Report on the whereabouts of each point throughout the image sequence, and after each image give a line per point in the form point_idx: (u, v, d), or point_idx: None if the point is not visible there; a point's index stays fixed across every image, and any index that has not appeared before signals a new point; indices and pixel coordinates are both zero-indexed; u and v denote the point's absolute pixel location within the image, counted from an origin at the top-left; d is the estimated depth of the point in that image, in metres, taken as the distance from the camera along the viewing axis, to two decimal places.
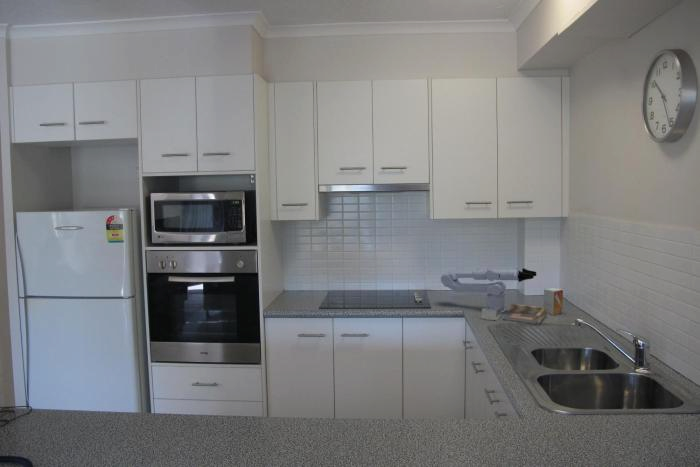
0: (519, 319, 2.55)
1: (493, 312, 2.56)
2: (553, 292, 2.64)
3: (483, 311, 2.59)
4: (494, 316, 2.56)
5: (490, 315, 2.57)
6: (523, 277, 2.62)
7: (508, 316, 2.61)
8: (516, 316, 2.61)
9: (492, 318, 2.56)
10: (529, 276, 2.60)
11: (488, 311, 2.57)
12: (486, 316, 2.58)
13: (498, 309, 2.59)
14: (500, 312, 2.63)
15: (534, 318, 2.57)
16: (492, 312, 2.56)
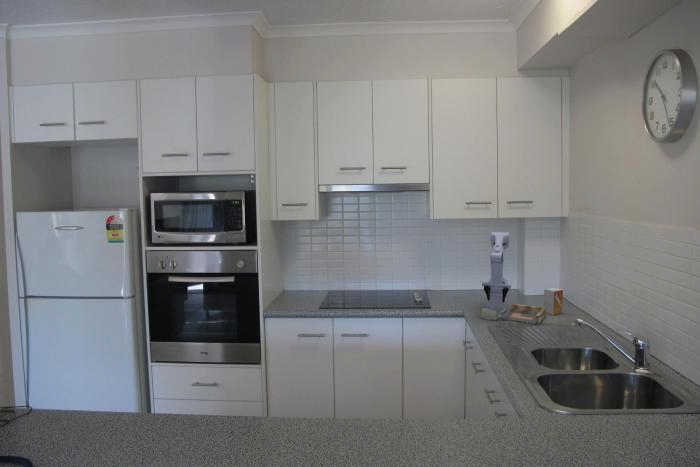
0: (519, 319, 2.55)
1: (493, 312, 2.56)
2: (553, 292, 2.64)
3: (483, 311, 2.59)
4: (494, 316, 2.56)
5: (490, 315, 2.57)
6: None
7: (508, 316, 2.61)
8: (516, 316, 2.61)
9: (492, 318, 2.56)
10: None
11: (488, 311, 2.57)
12: (486, 316, 2.58)
13: (498, 309, 2.59)
14: (500, 312, 2.63)
15: (534, 318, 2.57)
16: (492, 312, 2.56)
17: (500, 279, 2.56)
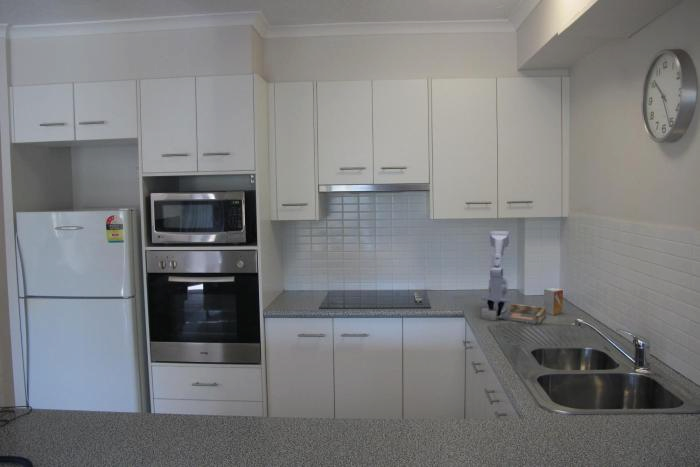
0: (519, 319, 2.55)
1: (493, 312, 2.56)
2: (553, 292, 2.64)
3: (483, 311, 2.59)
4: (494, 316, 2.56)
5: (490, 315, 2.57)
6: None
7: (508, 316, 2.61)
8: (516, 316, 2.61)
9: (492, 318, 2.56)
10: None
11: (488, 311, 2.57)
12: (486, 316, 2.58)
13: None
14: None
15: (534, 318, 2.57)
16: (492, 312, 2.56)
17: (500, 294, 2.57)
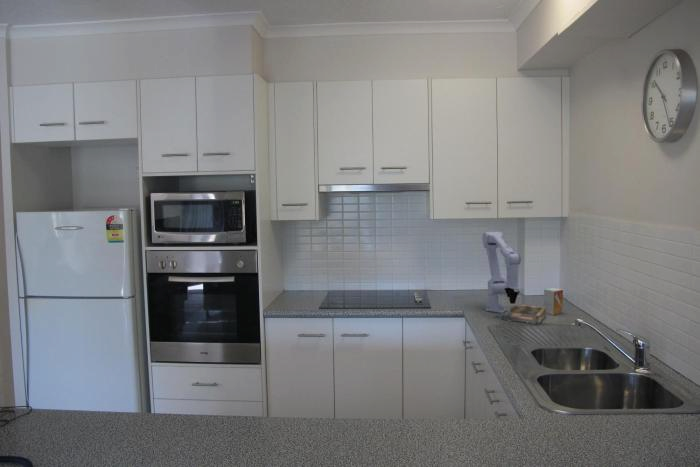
0: (519, 319, 2.55)
1: (501, 298, 2.58)
2: (553, 292, 2.64)
3: (498, 296, 2.63)
4: (502, 302, 2.58)
5: (500, 301, 2.60)
6: None
7: (508, 316, 2.61)
8: (516, 316, 2.61)
9: (501, 304, 2.59)
10: None
11: (500, 297, 2.61)
12: (499, 301, 2.62)
13: None
14: (519, 301, 2.57)
15: (534, 318, 2.57)
16: (501, 298, 2.59)
17: (510, 280, 2.55)
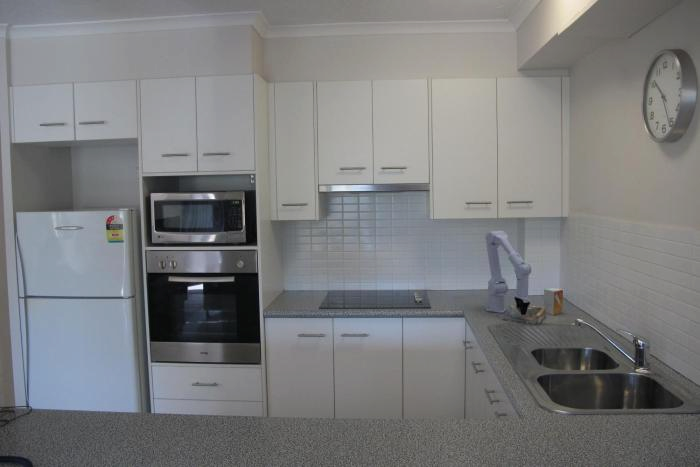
0: (519, 319, 2.55)
1: (511, 309, 2.58)
2: (553, 292, 2.64)
3: (509, 307, 2.64)
4: (512, 313, 2.58)
5: (511, 312, 2.60)
6: None
7: (508, 316, 2.61)
8: None
9: (511, 315, 2.59)
10: None
11: (510, 308, 2.61)
12: (510, 312, 2.62)
13: None
14: (529, 314, 2.57)
15: (534, 318, 2.57)
16: (511, 309, 2.59)
17: (520, 291, 2.55)
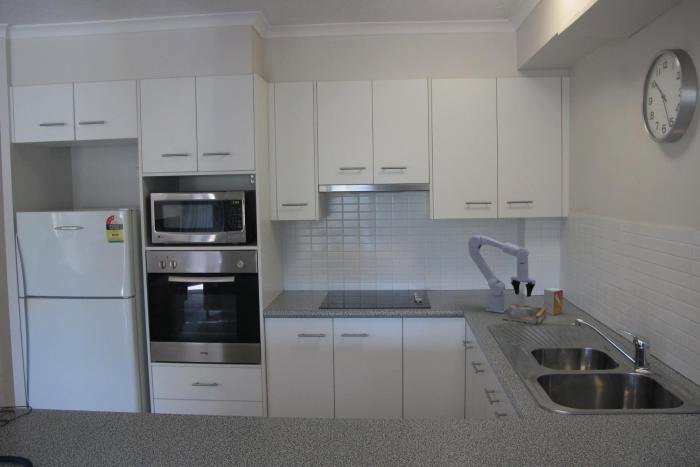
0: (519, 319, 2.55)
1: (511, 309, 2.58)
2: (553, 292, 2.64)
3: (509, 307, 2.64)
4: (512, 313, 2.58)
5: (511, 312, 2.60)
6: None
7: (508, 316, 2.61)
8: None
9: (511, 315, 2.59)
10: None
11: (510, 308, 2.61)
12: (510, 312, 2.62)
13: (521, 309, 2.57)
14: (529, 314, 2.57)
15: (534, 318, 2.57)
16: (511, 309, 2.59)
17: (524, 274, 2.64)
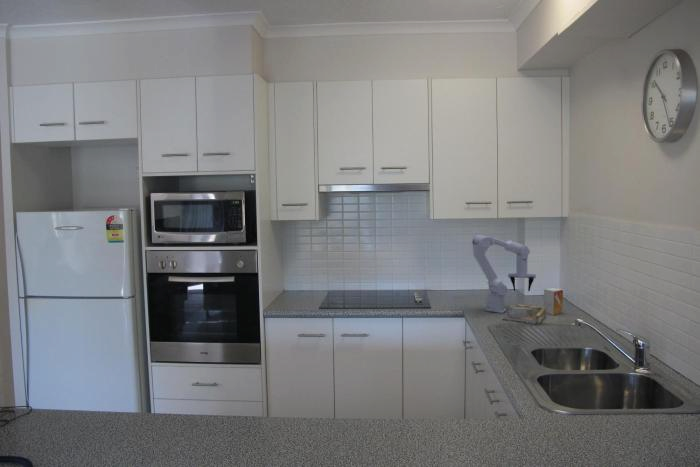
0: (519, 319, 2.55)
1: (511, 309, 2.58)
2: (553, 292, 2.64)
3: (509, 307, 2.64)
4: (512, 313, 2.58)
5: (511, 312, 2.60)
6: None
7: (508, 316, 2.61)
8: None
9: (511, 315, 2.59)
10: None
11: (510, 308, 2.61)
12: (510, 312, 2.62)
13: (521, 309, 2.57)
14: (529, 314, 2.57)
15: (534, 318, 2.57)
16: (511, 309, 2.59)
17: (526, 270, 2.74)
